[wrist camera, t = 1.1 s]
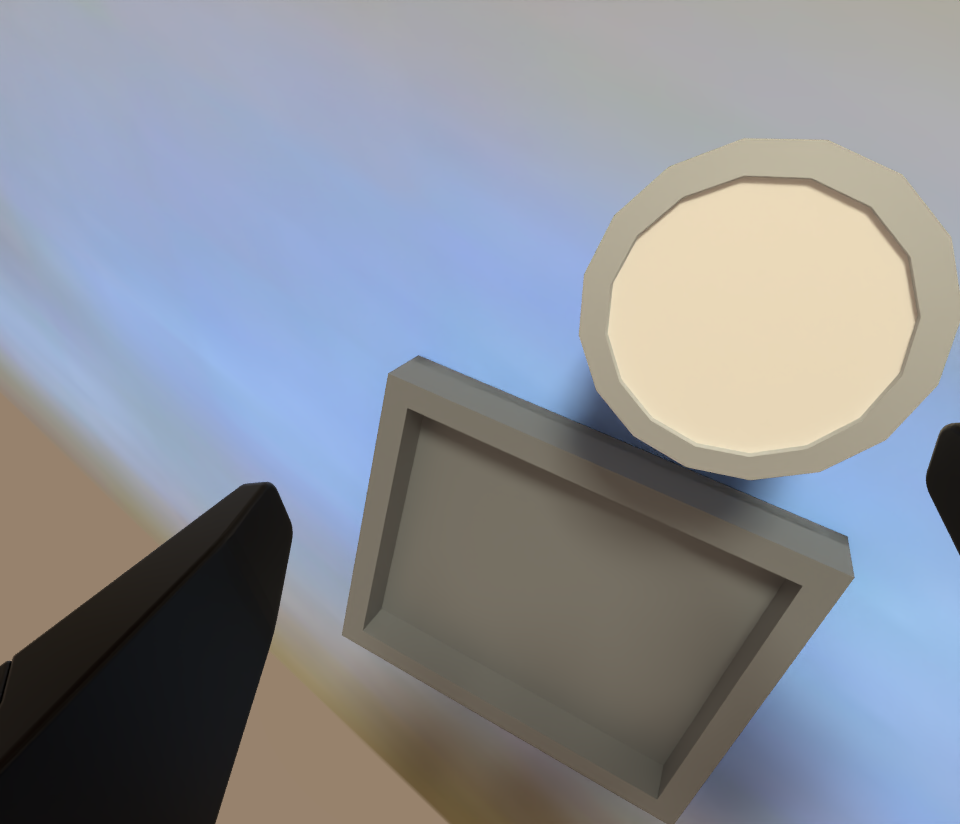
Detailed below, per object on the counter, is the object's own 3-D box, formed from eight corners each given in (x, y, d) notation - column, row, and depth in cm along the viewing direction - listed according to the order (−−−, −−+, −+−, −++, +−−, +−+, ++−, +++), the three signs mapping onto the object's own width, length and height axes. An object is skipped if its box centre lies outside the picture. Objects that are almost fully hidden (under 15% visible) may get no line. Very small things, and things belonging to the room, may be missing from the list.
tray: (847, 536, 20) (854, 577, 18) (679, 779, 27) (672, 826, 25) (418, 355, 24) (388, 373, 22) (368, 605, 31) (341, 635, 29)
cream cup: (964, 245, 16) (1074, 308, 10) (759, 420, 20) (750, 540, 14) (754, 81, 16) (742, 47, 10) (593, 281, 20) (517, 339, 14)
